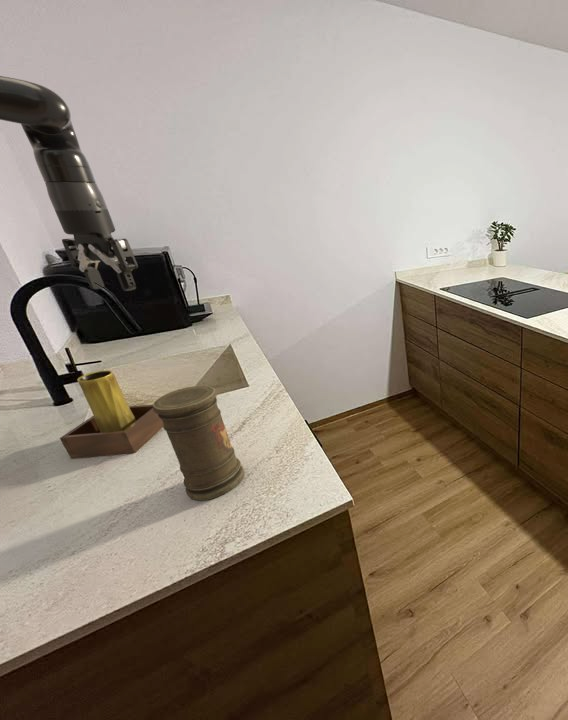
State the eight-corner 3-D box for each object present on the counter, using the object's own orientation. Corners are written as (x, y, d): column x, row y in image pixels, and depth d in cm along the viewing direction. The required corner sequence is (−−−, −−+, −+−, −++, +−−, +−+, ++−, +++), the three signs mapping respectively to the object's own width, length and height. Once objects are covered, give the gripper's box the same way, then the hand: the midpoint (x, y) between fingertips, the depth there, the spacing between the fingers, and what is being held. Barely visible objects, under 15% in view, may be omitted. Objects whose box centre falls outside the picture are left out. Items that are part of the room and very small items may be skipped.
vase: (136, 438, 80) (109, 378, 74) (98, 446, 77) (67, 384, 72) (144, 424, 85) (119, 367, 79) (109, 431, 82) (81, 372, 77)
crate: (70, 458, 75) (59, 438, 73) (113, 426, 86) (104, 407, 84) (134, 452, 77) (125, 432, 75) (169, 422, 87) (161, 403, 85)
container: (203, 507, 63) (166, 416, 56) (176, 489, 67) (139, 401, 60) (255, 476, 70) (228, 391, 63) (228, 461, 74) (200, 379, 67)
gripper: (29, 208, 72) (67, 292, 78) (87, 208, 69) (122, 294, 76) (75, 207, 79) (107, 284, 85) (130, 207, 76) (158, 286, 82)
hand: (114, 289), depth 80 cm, fingers open, 8 cm apart
